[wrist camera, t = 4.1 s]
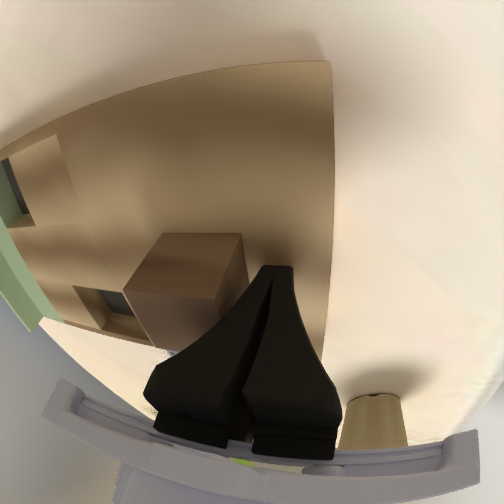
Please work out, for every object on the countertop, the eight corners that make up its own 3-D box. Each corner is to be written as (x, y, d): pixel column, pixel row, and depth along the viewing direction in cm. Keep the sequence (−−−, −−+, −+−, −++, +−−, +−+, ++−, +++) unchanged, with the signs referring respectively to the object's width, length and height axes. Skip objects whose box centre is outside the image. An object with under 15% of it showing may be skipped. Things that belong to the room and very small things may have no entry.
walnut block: (252, 296, 15) (234, 360, 12) (183, 291, 16) (156, 347, 13) (240, 233, 13) (214, 299, 10) (162, 233, 14) (122, 289, 10)
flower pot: (347, 383, 24) (341, 467, 18) (428, 385, 23) (433, 460, 16) (324, 414, 30) (316, 478, 23) (392, 416, 29) (391, 476, 22)
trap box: (322, 338, 20) (317, 398, 16) (49, 299, 27) (28, 330, 23) (326, 61, 9) (336, 60, 6) (-19, 163, 16) (-55, 189, 12)
